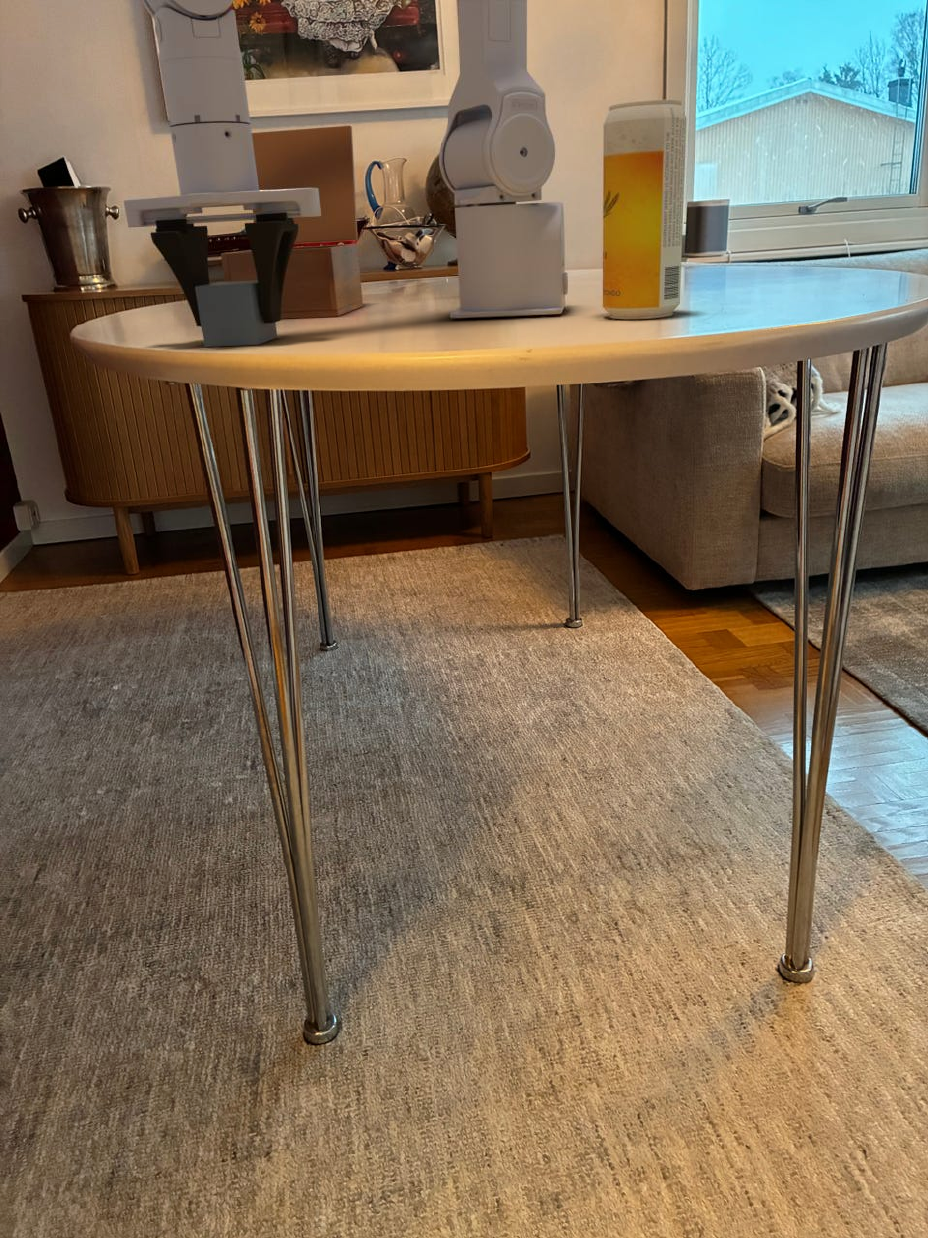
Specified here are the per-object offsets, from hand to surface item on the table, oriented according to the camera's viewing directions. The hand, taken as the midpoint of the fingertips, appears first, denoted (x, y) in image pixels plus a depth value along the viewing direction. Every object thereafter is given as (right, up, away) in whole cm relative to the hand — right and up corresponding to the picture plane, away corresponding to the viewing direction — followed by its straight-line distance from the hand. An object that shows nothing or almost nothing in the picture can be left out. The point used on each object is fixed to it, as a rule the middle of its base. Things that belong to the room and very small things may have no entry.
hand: (239, 323), depth 72 cm
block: (0, -1, +1) cm, 1 cm away
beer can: (+32, +1, +3) cm, 32 cm away
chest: (+1, +8, +21) cm, 23 cm away
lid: (+1, +21, +22) cm, 30 cm away
